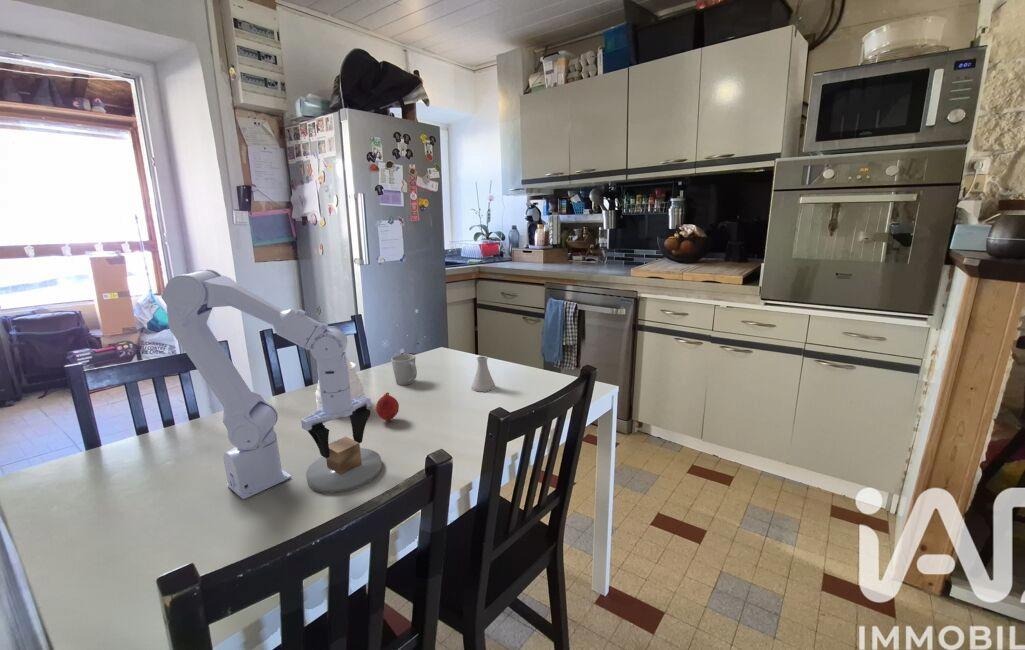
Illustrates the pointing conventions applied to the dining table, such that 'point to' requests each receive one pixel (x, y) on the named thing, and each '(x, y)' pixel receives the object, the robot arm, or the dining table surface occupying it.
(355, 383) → the honey pot
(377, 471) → the plate
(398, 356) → the cup
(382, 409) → the onion
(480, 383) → the flask
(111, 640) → the dining table surface
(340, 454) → the cube
